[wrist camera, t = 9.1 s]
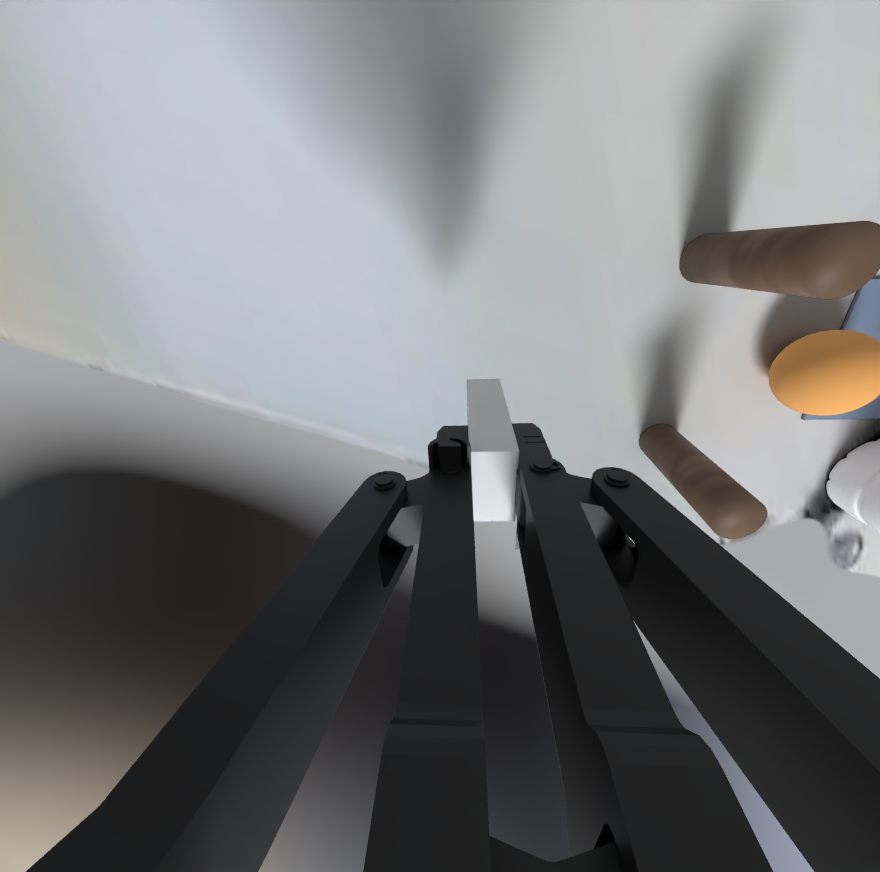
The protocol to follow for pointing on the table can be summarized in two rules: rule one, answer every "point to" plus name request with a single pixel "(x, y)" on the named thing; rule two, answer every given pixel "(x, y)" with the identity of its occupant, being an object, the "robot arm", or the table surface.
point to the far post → (703, 483)
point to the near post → (788, 259)
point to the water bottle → (858, 484)
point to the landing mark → (874, 315)
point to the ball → (827, 372)
